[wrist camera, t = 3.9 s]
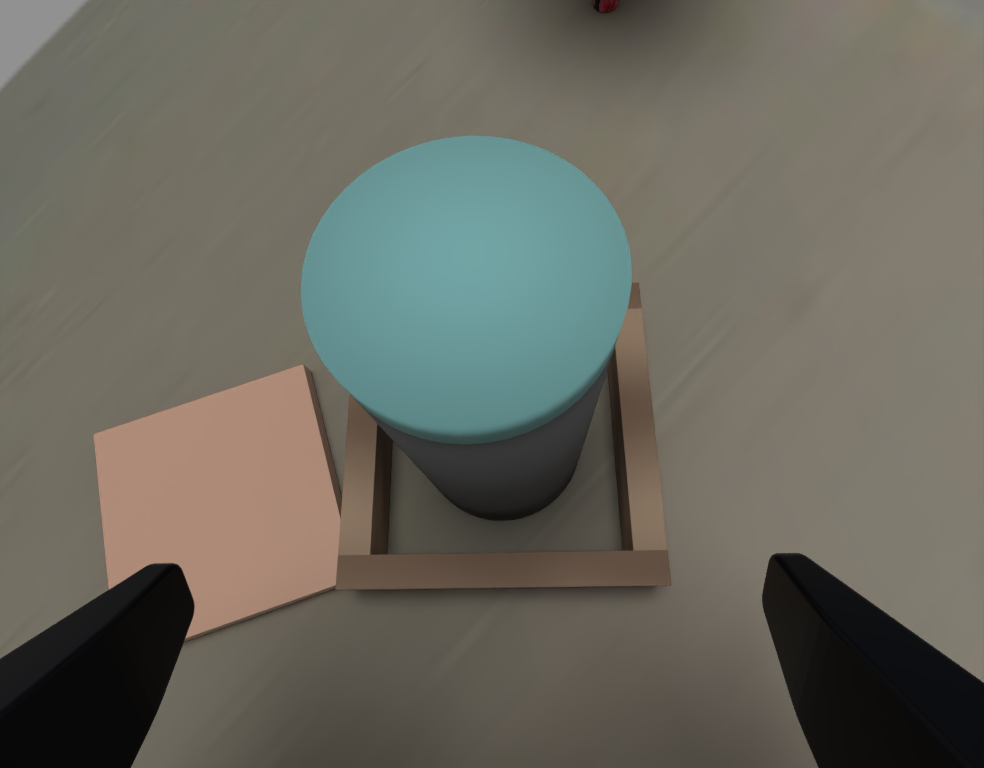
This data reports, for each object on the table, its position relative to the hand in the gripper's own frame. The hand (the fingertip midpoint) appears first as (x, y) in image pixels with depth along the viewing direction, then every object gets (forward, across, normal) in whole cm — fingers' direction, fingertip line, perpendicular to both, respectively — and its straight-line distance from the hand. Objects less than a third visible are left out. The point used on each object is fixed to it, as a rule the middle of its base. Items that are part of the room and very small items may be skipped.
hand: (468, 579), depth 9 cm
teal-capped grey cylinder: (+11, 0, +5) cm, 12 cm away
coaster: (+10, +10, +6) cm, 15 cm away
